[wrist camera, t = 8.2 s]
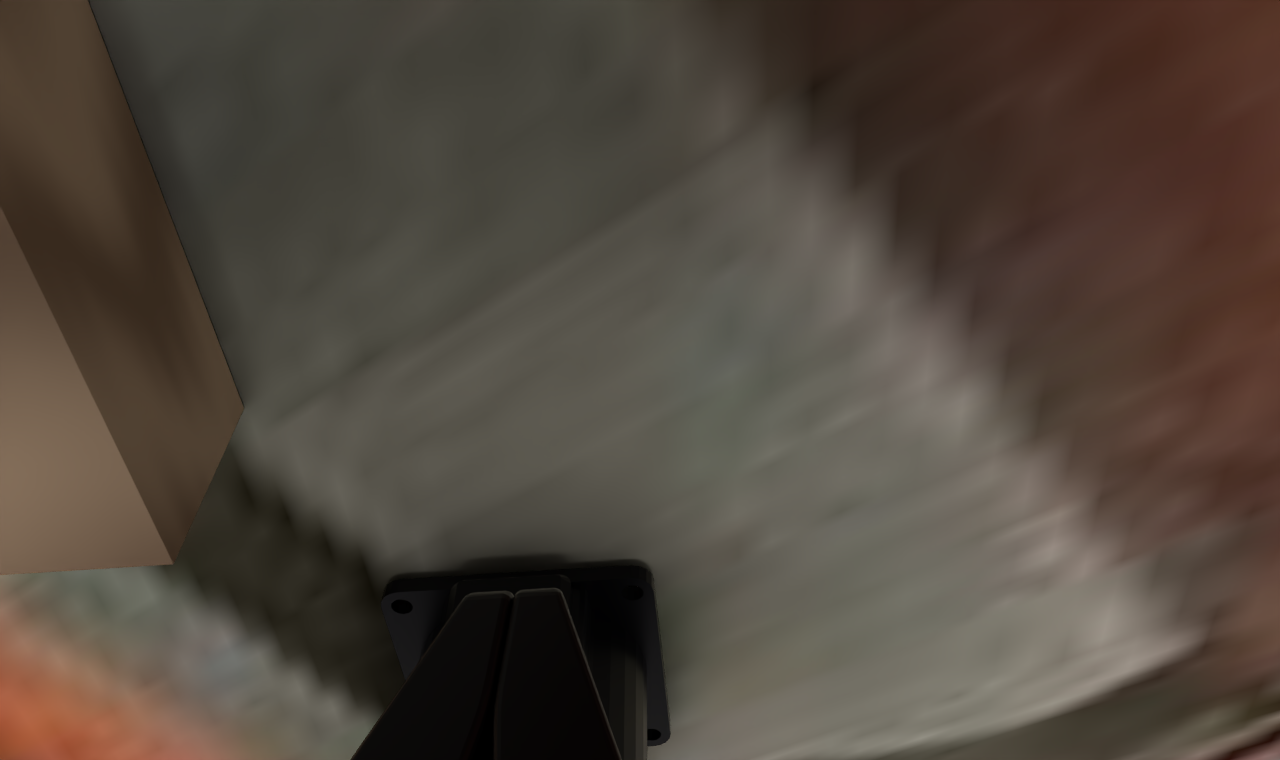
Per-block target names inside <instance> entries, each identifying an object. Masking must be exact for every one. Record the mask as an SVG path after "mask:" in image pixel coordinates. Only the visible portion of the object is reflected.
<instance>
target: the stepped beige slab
mask: <svg viewBox="0 0 1280 760" xmlns="http://www.w3.org/2000/svg"><path fill="white" fill-rule="evenodd" d="M243 410H244V407H243V404H242V402H241V399H240V396H239V394H238V391H237V389H236V386H235V383H234V381H233V378H232V376H231V373H230V370H229V368H228V365H227V363H226V360H225V357H224V355H223V352H222V349H221V347H220V344H219V342H218V339H217V336H216V334H215V331H214V329H213V326H212V323H211V321H210V318H209V316H208V313H207V310H206V308H205V305H204V302H203V300H202V297H201V295H200V292H199V289H198V287H197V284H196V282H195V279H194V276H193V274H192V271H191V269H190V266H189V263H188V261H187V258H186V255H185V253H184V250H183V248H182V245H181V242H180V240H179V237H178V235H177V232H176V229H175V227H174V224H173V222H172V219H171V216H170V214H169V211H168V208H167V206H166V203H165V201H164V198H163V195H162V193H161V190H160V188H159V185H158V182H157V180H156V177H155V175H154V172H153V169H152V167H151V164H150V161H149V159H148V156H147V154H146V151H145V148H144V146H143V143H142V141H141V138H140V135H139V133H138V130H137V128H136V125H135V122H134V120H133V117H132V115H131V112H130V109H129V107H128V104H127V101H126V99H125V96H124V94H123V91H122V88H121V86H120V83H119V81H118V78H117V75H116V73H115V70H114V68H113V65H112V62H111V60H110V57H109V54H108V52H107V49H106V47H105V44H104V41H103V39H102V36H101V34H100V31H99V28H98V26H97V23H96V21H95V18H94V15H93V13H92V10H91V7H90V5H89V2H88V0H0V575H8V574H24V573H40V572H56V571H72V570H88V569H104V568H120V567H137V566H153V565H169V564H174V562H175V560H176V558H177V555H178V553H179V551H180V549H181V547H182V544H183V542H184V540H185V538H186V535H187V533H188V531H189V529H190V527H191V524H192V522H193V520H194V518H195V516H196V513H197V511H198V509H199V507H200V505H201V502H202V500H203V498H204V496H205V494H206V491H207V489H208V487H209V485H210V483H211V480H212V478H213V476H214V474H215V472H216V469H217V467H218V465H219V463H220V461H221V458H222V456H223V454H224V452H225V449H226V447H227V445H228V443H229V441H230V438H231V436H232V434H233V432H234V430H235V427H236V425H237V423H238V421H239V419H240V416H241V414H242V412H243Z"/></svg>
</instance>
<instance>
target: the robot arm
mask: <svg viewBox="0 0 1280 760" xmlns="http://www.w3.org/2000/svg"><path fill="white" fill-rule="evenodd" d="M631 585H633V586H638V587H635V588H632V587H627V586H631ZM399 599H402V600H406V601H401V600H399ZM381 609H382V612H383V615H384V618H385V621H386V624H387V627H388V629H389V632H390V635H391V638H392V641H393V644H394V647H395V650H396V653H397V656H398V659H399V662H400V665H401V668H402V671H403V674H404V677H405V680H406V681H405V682H404V684H403V685H402V687H401V688H400V689H399V691H398V692H397V694H396V695H395V697H394V698H393V699H392V701H391V702H390V704H389V705H388V707H387V708H386V710H385V711H384V712H383V714H382V715H381V717H380V718H379V720H378V721H377V722H376V724H375V725H374V727H373V728H372V730H371V731H370V732H369V734H368V735H367V737H366V738H365V740H364V741H363V742H362V744H361V745H360V747H359V748H358V750H357V751H356V753H355V754H354V755H353V757H352V758H351V760H647V746H656V745H661V744H663V743H665V742H666V741H667V740H668V739H669V738H670V716H669V707H668V698H667V690H666V681H665V672H664V663H663V655H662V646H661V637H660V629H659V620H658V611H657V603H656V594H655V585H654V578H653V576H652V574H651V573H650V572H649V571H648V570H647V569H645V568H642V567H640V566H616V567H600V568H584V569H567V570H551V571H534V572H518V573H501V574H485V575H469V576H452V577H436V578H419V579H403V580H396V581H392V582H391V583H389V584H388V585H387V586H386V587H385V589H384V592H383V596H382V601H381Z"/></svg>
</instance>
